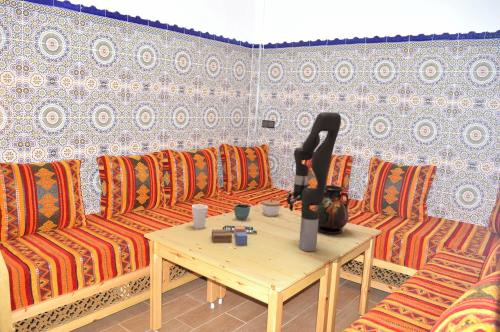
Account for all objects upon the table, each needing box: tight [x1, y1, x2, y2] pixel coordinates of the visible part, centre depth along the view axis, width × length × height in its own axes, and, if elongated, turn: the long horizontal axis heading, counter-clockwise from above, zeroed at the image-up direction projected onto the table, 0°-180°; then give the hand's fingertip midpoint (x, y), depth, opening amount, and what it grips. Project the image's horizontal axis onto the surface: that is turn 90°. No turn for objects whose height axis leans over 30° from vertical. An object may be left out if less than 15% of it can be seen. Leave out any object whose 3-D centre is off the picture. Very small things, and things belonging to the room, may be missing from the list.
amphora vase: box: [313, 184, 350, 236], centre depth 242 cm, size 22×22×28 cm
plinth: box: [211, 229, 233, 244], centre depth 219 cm, size 10×10×4 cm
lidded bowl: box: [261, 199, 281, 217], centre depth 273 cm, size 13×13×11 cm
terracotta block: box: [233, 225, 247, 238], centre depth 225 cm, size 6×6×6 cm
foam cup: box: [191, 203, 209, 230], centre depth 238 cm, size 10×9×13 cm
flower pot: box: [233, 203, 251, 221], centre depth 259 cm, size 9×9×9 cm
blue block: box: [234, 232, 248, 246], centre depth 214 cm, size 6×6×6 cm
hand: (298, 210), depth 223 cm, fingers open, 8 cm apart
